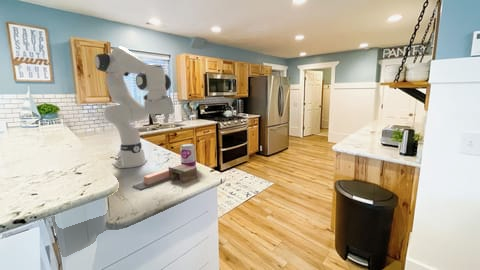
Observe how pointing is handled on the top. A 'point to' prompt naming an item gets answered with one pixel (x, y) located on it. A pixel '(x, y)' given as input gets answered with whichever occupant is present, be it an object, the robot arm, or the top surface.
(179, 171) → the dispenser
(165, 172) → the pink rectangular block
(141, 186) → the mat
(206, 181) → the top surface
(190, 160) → the supplement can
